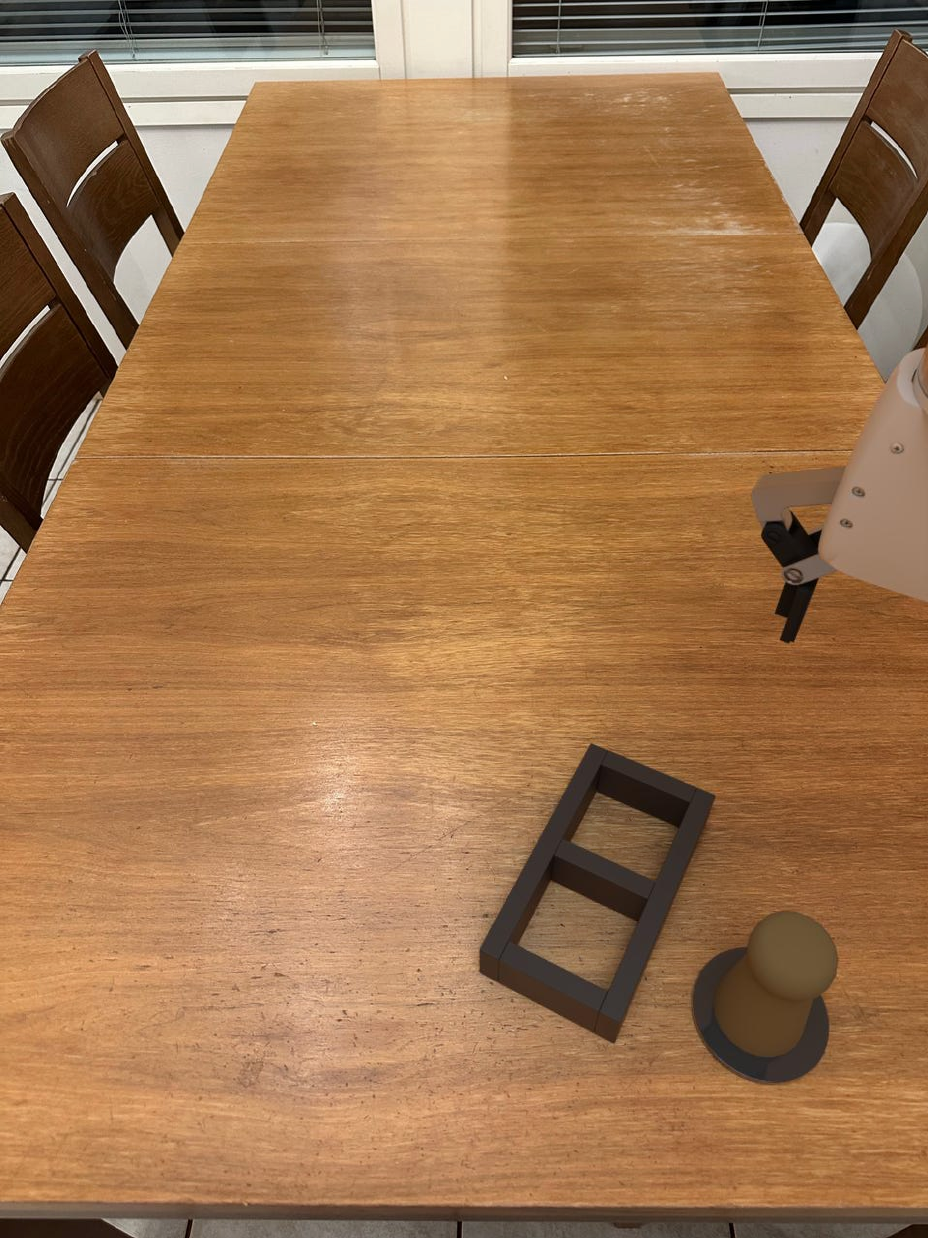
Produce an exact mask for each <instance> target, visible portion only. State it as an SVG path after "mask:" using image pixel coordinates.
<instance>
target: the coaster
mask: <svg viewBox="0 0 928 1238" xmlns="http://www.w3.org/2000/svg"><path fill="white" fill-rule="evenodd" d="M746 954H747V946H741V947H740V946H739V947H733V948H730V949H727V950H724V951H722V952H720V953H718V954H717V955H715V956H714V957H712V958H711V959H710V960H709V961H708V962H707V963H706V964H705V965H704V966H703V967H702V969H701V971H700V972H699V974H698V976H697V978H696V980H695V983H694V986H693V990H692V997H691V1011H692V1017H693V1021H694V1024H695V1028H696V1031H697V1033H698V1035H699V1037H700V1039H701V1042H702V1043H703V1044H704V1046H705V1048H706V1049H707V1050H708V1052H709V1053H710V1055H712V1056H713V1057H714V1059H715V1060H716V1061H718V1063H719V1064H721V1065H722V1066H723V1067H724V1068H726V1070H728V1071H730V1072H731V1073H733V1074H735V1075H736V1076H738V1077H739V1078H743V1079H744V1080H746V1081H749V1082H753V1083H757V1084H760V1085H770V1086H777V1085H779V1086H780V1085H785V1084H790V1083H793V1082H797V1080H800V1079H802V1078H804V1077H805V1076H807V1075H808V1074H809V1073H810V1072H811V1071H813V1070H814V1069H815V1067H817V1065H818V1064H819V1062H820V1061H821V1060H822V1058H823V1056H824V1054H825V1052H826V1050H827V1046H828V1042H829V1037H830V1019H829V1012H828V1010H827V1006H826V1003H825V1000H824V998H823V995H822V994H821V995H820V996H819V997H817V998H814V999H813V1002H812V1006H811V1009H810V1012H809V1016H808V1019H807V1022H806V1025H805V1029H804V1032H803V1035H802V1037H801V1038H800V1040H799V1042H798V1043H797V1045H796V1046H795V1047H794V1048H793V1049H791V1050H790V1051H789V1052H787V1053H786V1054H783V1055H780V1056H776V1057H758V1056H755V1055H752V1054H750V1053H747V1052H745V1051H743V1050H741V1049H740V1048H739V1047H737V1046H736V1045H735V1044H733V1043H732V1042H731V1041H730V1040H729V1039H728V1038H727V1036H726V1035H725V1034H724V1032H723V1031H722V1030H721V1028H720V1026H719V1024H718V1021H717V1019H716V1016H715V1012H714V1002H713V1000H714V996H715V991H716V987H717V986H718V984H719V983H720V981H721V980H722V978H723V977H724V976H725V975H726V974H727V973H728V972H729V971H730V970H731V969H732V968H733V967H734V966H735V965H736V964H737V963H738V962H739V961H740V960H741V959H742V958H743V957H744V956H745V955H746Z"/></svg>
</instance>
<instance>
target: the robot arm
mask: <svg viewBox="0 0 928 1238" xmlns="http://www.w3.org/2000/svg"><path fill="white" fill-rule="evenodd" d="M750 500H751V504H752V507H753V508H754V512H755V516H756V519H757V522H758V523H759V524H760V526H761V533H760V538H761V539H762V542H764V544H765V545H766V547H767V548H768V550H769V551H770V553H772V555H773V556H774V558H775V559H776V560H777V562H778V563H779V565H780V566H781V567H782V569H781V574H780V576H781V579H782V580H783V581H784V584H783V587H782V591H781V593H780V596H779V599H778V601H777V605H776V608H775V611H774V615H776V616H780V617H782V618H786V620H785V623H784V626H783V629H782V632H781V636H780V637H779V641H780V642H783V643H786V644H790V642H791V643H793V644H794V643H795V642H796V639H797V635H798V634H799V631H800V628H801V626H802V623H803V621H804V618H805V616H806V614H807V611H808V609H809V606H810V604H811V601H812V598H813V595H814V594H815V590H816V587H817V585H818V582H819V579H820V578H822V577H825V576H827V575H830V574H832V573H835V572H839V573H842V574H844V575H846V576H849V577H850V578H854V579H856V580H859V581H862V582H865V583H867V584H871V585H874V586H876V587H880V588H883V589H885V590H889V591H891V592H894V593H897V594H899V595H900V594H901V595H903V596H906V597H908V598H909V597H910V598H912V599H916V600H919V601H921V602H924V603H927V604H928V343H927V344H926V346H925V347H922V348H919V349H918V348H917V349H914V350H911V351H909V352H908V353H907V354H905V355H904V356H903V357H902V358H901V360H900V361H899V363H898V364H897V366H896V367H895V368H894V370H893V371H892V373H891V375H890V376H889V378H888V379H887V381H886V382H885V384H884V386H883V388H882V389H881V391H880V393H879V395H878V396H877V398H876V400H875V402H874V403H873V405H872V407H871V410H870V411H869V414H868V415H867V418H866V420H865V422H864V424H863V425H862V429H861V431H860V432H859V435H858V437H857V439H856V442H855V444H854V447H853V449H852V451H851V454H850V456H849V458H848V461H847V462H846V465H844V466H835V467H824V468H823V467H822V468H814V469H805V470H804V469H803V470H795V471H785V472H783V471H782V472H774V473H765V474H762V475H760V476H759V477H758V479H757V481H756V482H755V484H754V487H753V488H752V490H751V492H750ZM823 505H830V506H829V507H828V510H827V514H826V516H825V520H824V522H823V523H822V524H820V525H818V526H815V527H813V528H810V529H808V530H806V529H805V527H804V526H803V525H802V523H801V521H799V519H798V517H797V516H796V515H795V514H794V512H793V511H792V510H791V509H790V508H796V507H811V506H823Z"/></svg>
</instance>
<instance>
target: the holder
mask: <svg viewBox="0 0 928 1238" xmlns="http://www.w3.org/2000/svg"><path fill="white" fill-rule="evenodd" d="M596 793H599V794H601V795H604V796H606V797H609V798H610V799H613V800H614V801H617V802H620V803H622V804H624V805H626V806H629V807H631V808H633V809H636V810H638V811H640V812H642V813H645V814H647V815H650V816H651V817H654V818H656V819H659V820H662V822H663V821H664V822H665V823H668V824H670V825H672V826H675V827H677V828H678V829H677V832H676V833H675V836H674V839H673V841H672V844H671V846H670V848H669V851H668V852H667V855H666V857H665V860H664V862H663V864H662V866H661V869H660V871H659V873H658V875H657V878H656V880H654V879H652V878H649V877H646V876H645V875H642V874H641V873H639V872H636V871H634V870H632V869H629V868H628V867H625V866H623V865H621V864H619V863H616V862H614V861H612V860H610V859H609V858H605V857H604V856H601V855H599V854H597V853H595V852H592V851H590V850H588V849H586V848H585V847H581V846H580V845H577V844H575V843H573V842H572V839H573V838H574V836H575V834H576V832H577V831H578V828H579V827H580V824H581V822H582V820H583V818H584V817H585V815H586V813H587V811H588V809H589V807H590V805H591V803H592V801H593V799H594V797H595V795H596ZM715 799H716V794H714V793H711V792H709V791H707V790H705V789H703V788H700V787H697V786H695V785H692V784H691V783H688V782H685V781H683V780H681V779H679V778H676V777H674V776H671V775H669V774H666V773H665V772H662V771H660V770H657V769H654V768H652V767H650V766H647V765H645V764H642V763H640V762H638V761H636V760H633V759H631V758H628V757H626V756H623V755H621V754H619V753H616V752H614V751H612V750H609V749H607V748H605V747H602V746H599V745H598V744H594V743H593V742H590V744H589V746H588V747H587V749H586V751H585V753H584V754H583V756H582V758H581V760H580V763H579V764H578V766H577V767H576V770H575V771H574V773H573V775H572V777H571V779H570V780H569V782H568V784H567V786H566V788H565V790H564V792H563V794H562V795H561V797H560V799H559V801H558V802H557V805H556V806H555V808H554V810H553V812H552V814H551V816H550V817H549V820H548V821H547V823H546V825H545V826H544V828H543V830H542V832H541V833H540V836H539V838H538V840H537V842H536V843H535V845H534V846H533V849H532V851H531V852H530V854H529V856H528V858H527V860H526V862H525V864H524V866H523V868H522V869H521V871H520V873H519V875H518V877H517V878H516V880H515V882H514V884H513V886H512V887H511V890H510V892H509V893H508V895H507V897H506V899H505V900H504V902H503V905H502V906H501V908H500V910H499V912H498V914H497V916H496V918H495V919H494V921H493V922H492V925H491V927H490V928H489V930H488V932H487V933H486V936H485V938H484V939H483V942H482V944H481V945H480V947H479V952H478V953H479V961H478V962H479V973H480V974H481V975H483V976H486V977H488V978H489V979H490V980H491V979H492V980H493V981H495V982H496V983H498V984H500V985H502V986H504V987H506V988H508V989H510V990H511V991H514V993H515V992H516V993H517V994H519V995H520V996H523V997H525V998H527V999H529V1000H531V1001H533V1002H535V1003H536V1004H538V1005H540V1006H541V1007H544V1008H546V1009H547V1010H550V1011H551V1012H553V1013H555V1014H557V1015H559V1016H560V1017H563V1018H565V1019H566V1020H568V1021H570V1022H572V1023H574V1024H576V1025H578V1026H580V1027H582V1028H583V1029H586V1030H587V1031H589V1032H591V1033H594V1034H595V1035H597V1036H598V1037H601V1038H603V1039H605V1040H607V1041H608V1042H610V1043H612V1044H615V1043H616V1041H617V1038H618V1036H619V1034H620V1031H621V1029H622V1027H623V1024H624V1022H625V1019H626V1017H627V1014H628V1013H629V1010H630V1007H631V1006H632V1004H633V1003H632V1002H633V1000H634V998H635V996H636V993H637V991H638V989H639V986H640V984H641V981H642V978H643V976H644V974H645V972H646V969H647V966H648V964H649V962H650V960H651V957H652V954H653V952H654V950H655V947H656V946H657V942H658V940H659V938H660V935H661V933H662V931H663V929H664V926H665V923H666V921H667V918H668V916H669V914H670V911H671V908H672V906H673V904H674V902H675V899H676V896H677V895H678V892H679V889H680V887H681V885H682V883H683V881H684V878H685V875H686V873H687V870H688V869H689V866H690V863H691V861H692V859H693V856H694V854H695V852H696V849H697V847H698V845H699V842H700V839H701V836H702V834H703V832H704V829H705V827H706V825H707V823H708V819H709V816H710V814H711V810H712V808H713V805H714V803H715ZM551 881H552V882H554V883H556V884H558V885H560V886H563V887H564V888H566V889H569V890H571V891H573V892H574V893H577V894H579V895H581V896H583V897H586V898H587V899H590V900H592V901H593V902H596V903H597V904H599V905H602V906H604V907H606V908H608V909H611V910H612V911H615V912H616V913H619V914H621V915H623V916H625V917H627V918H628V919H631V920H632V921H636V922H637V924H636V926H635V928H634V930H633V933H632V935H631V937H630V940H629V942H628V944H627V947H626V949H625V951H624V952H623V953H624V954H623V956H622V958H621V960H620V962H619V965H618V967H617V970H616V972H615V974H614V976H613V979H612V981H611V983H610V986H609V987H608V990H607V989H604V988H602V987H600V986H598V985H597V984H595V983H592V982H591V981H589V980H587V979H585V978H583V977H581V976H579V975H577V974H576V973H573V972H571V971H569V970H567V969H565V968H564V967H561V966H559V965H557V964H555V963H553V962H551V961H549V960H548V959H545V958H543V957H541V956H540V955H538V954H536V953H534V952H532V951H530V950H527V949H526V948H524V947H522V946H520V945H519V942H520V941H521V939H522V937H523V934H524V933H525V932H526V928H527V927H528V925H529V924H530V921H531V919H532V917H533V915H534V913H535V911H536V910H537V908H538V907H539V904H540V902H541V900H542V898H543V896H544V894H545V893H546V891H547V888H548V886H549V885H550V883H551Z"/></svg>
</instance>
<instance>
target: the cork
mask: <svg viewBox="0 0 928 1238" xmlns="http://www.w3.org/2000/svg"><path fill="white" fill-rule="evenodd" d="M747 941H748V942H747V946H746V947H747V954H746V955H745V956H744V957H743V958H742V959H741V960H740V961H739V962H738V963H737V964H736V965H735V966H734V967H733V968H732V969H731V970H730V971H729V972H728V973H727V974H726V975H725V976H724V977H723V978H722V980H721V981H720V983H719V984H718V986H717V987H716V991H715V996H714V1000H713V1002H714V1012H715V1016H716V1019H717V1021H718V1024H719V1026H720V1028H721V1030H722V1031H723V1032H724V1034H725V1035H726V1036H727V1038H728V1039H729V1040H730V1041H731V1042H732V1043H733V1044H735V1045H736V1046H737V1047H739V1048H740V1049H741V1050H743V1051H745V1052H747V1053H750V1054H752V1055H755V1056H758V1057H776V1056H780V1055H783V1054H786V1053H787V1052H789V1051H790V1050H791V1049H793V1048H794V1047H795V1046H796V1045H797V1043H798V1042H799V1040H800V1038H801V1037H802V1035H803V1032H804V1029H805V1025H806V1022H807V1019H808V1016H809V1012H810V1009H811V1006H812V1002H813V999H814V998H817V997H819V996H820V995H821V996H822V994H824V993H826V992H827V991H828V990H829V989H830V987H831V985H832V984H833V983H834V980H835V979H836V977H837V974H838V966H839V956H838V950H837V946H836V944H835V942H834V939H833V938H832V936H831V934H830V933H829V932H828V931H827V930H826V928H825V927H824V926H823V925H822V924H821V923H820V922H818V921H816V920H815V919H814V918H812V917H811V916H809V915H806V914H803V913H801V912H798V911H795V910H794V911H793V910H780V911H776V912H772V913H770V914H768V915H767V916H765V917H763V918H762V919H760V920H759V921H757V923H756V924H755V926H754V928H753V929H752V931H751V932H750V934H749V937H748V940H747Z"/></svg>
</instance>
